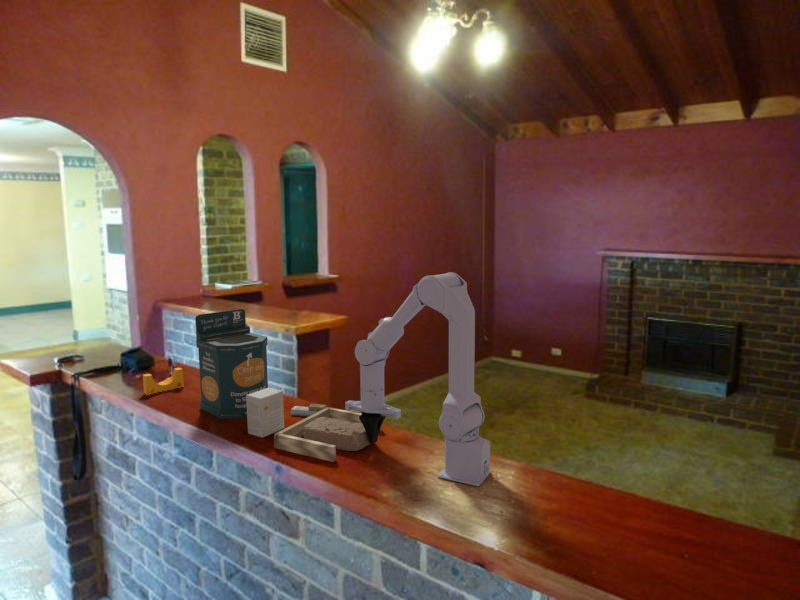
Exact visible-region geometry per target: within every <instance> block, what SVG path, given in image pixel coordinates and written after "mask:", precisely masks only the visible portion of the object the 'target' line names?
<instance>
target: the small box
mask: <svg viewBox="0 0 800 600" xmlns="http://www.w3.org/2000/svg"><path fill="white" fill-rule="evenodd" d="M246 403H247V417H246V419H247V420H246V422H247V433H248V434H249V435H252V436H255V437H258V438H265V437H268V436H270V435H272V434H275V433H278V432H280V431H282V430H283V429H285V413H284V412H285V411H284V409H285V407H284V391H283V390H280V389H277V388H272V387H268V388H266V389H263V390H260V391H257V392H254V393H251V394H248V395H246Z"/></svg>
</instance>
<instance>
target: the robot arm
mask: <svg viewBox="0 0 800 600" xmlns="http://www.w3.org/2000/svg"><path fill="white" fill-rule="evenodd" d="M426 306H427V307H429V308H431V309H433V310H435V311H437V312H439V314H440V313H441V314H442V315H443V316H444V317H445V318H446V320H448V392H447V395H446V397H445V399H444V400H443V403H442V410H441V411H442V412H441V414H440V416H439V418H438V427H439V430H440V431H441V433H442V435H443V438H444V468H443V469H442V470H440V472H439V473H438V474H437V478H440V479H444V480H449V481H452V482H458V483H462V484H466V485H471V486H474V487H479V486H481V484H483V482H484V481H485V480H486V478H488V476H489V475H490V474H491V473H492V470H491V442H490V440H489V439H486V438H484V437H482V436H481V435H479V434H480V433H479V432H480V426H483V425H482V424H484V421H485V412H484V408H483V407H482V402H481V401H482V400H481V399H482V398H481V396H480V395H479V394H478V393H476V392H475V365H476V364H475V363H476V362H475V355H476V353H475V351H476V349H475V348H476V327H475V326H476V311H475V307H474V305H473V302H472V300H471V298H470V295H469V293H468V282H466V281H465V280H464V278H462V277H461V276H460V275H459V274H457V273H456V272H452V271H450V272H446V273H441V274H433V275H432V274H431V275H425V276H423V277H422V278H421V279H420V280H419V282H418V283H416V284H415V285H413V288H412V290H411V292H410V293H409V295H408V296H407V297H406V299H404V302H403V303H402V304H401V305H400V306H399V308H398V309H397V311H396V312H395V313H394V314H393V316H386V317H384V318H380V320H378V322H377V323H378V325H377V326H376V327H375V328H374V330H373V331H372V332H371V331H370V332H369V333H368V334H367V338H366V339H362V340H359V341H357V343H356V346H355V348H354V357H355V359H356V360H357V362H358V363H359V372H360V373H359V374H360V375H359V376H360V386H359V387H360V400H351V399H350V400H348V401H345V402H344V404H345V408H344V410H346V411H354V412H359V413H362V414H361V415H360V416H359V420H360V421H361V423H362V424H363V426H364V428H365V431H366V434H367V437H368V441H369V443H370V445H371V444H372V445H374V444H376V443H377V442H378V439H379V434H380V432H381V431H380V428H381V425H383V423H384V421H385V419H386V417H388V418H393V419H394V420H399V419H400V418H401V417H402V409H401V408H396V407H394V406H391V405H388V404H385V366H386V360H387V359H388V358H389V355H390V350H391V349H392V348H393V347H394V345H395V344H397V342H398V341H399V340H400V339H401V338H402V337H403V336H404V335H405V329H404V327H405V326H406V325H408V323H410V322H411V320H412V319H413V318H414V317H415V316H416V315H417V314H418V313H419V312H420V311H422V310H423V308H424V307H426Z"/></svg>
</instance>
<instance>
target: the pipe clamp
mask: <svg viewBox="0 0 800 600" xmlns="http://www.w3.org/2000/svg"><path fill="white" fill-rule="evenodd" d="M184 383H185V382H184V369H183V368H181V367H176V368H173V371H172V375H171V376H170V377H167V378H166V379H164V380H163V381H160V382H159V381H158V383H157V382H156V381H155V379H154V378H153V375H152V374H151V373H145V374H142V384H143V385H142V386H143V394H144V393H145V394H147V395H149V394H153V393H157V392H162V391H166V392H168V391H167V390H171V389H175V388H179V389H181V388H180V387H184V388H185V384H184ZM175 390H176V389H175ZM171 391H172V390H171ZM162 393H163V392H162ZM145 394H144V395H145ZM157 394H158V393H157ZM147 395H146V396H147ZM153 395H154V394H153ZM149 396H150V395H149Z"/></svg>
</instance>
